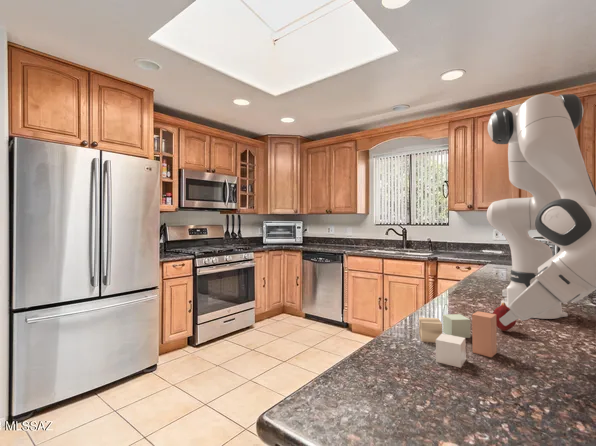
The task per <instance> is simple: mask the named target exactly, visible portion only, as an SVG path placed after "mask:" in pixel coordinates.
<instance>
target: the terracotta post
mask: <svg viewBox="0 0 596 446" xmlns="http://www.w3.org/2000/svg"><path fill="white" fill-rule="evenodd" d="M471 320H472V321H471V325H472V326H471V327H472V328H471V329H472V332H471V333H472V334H471V335H472V340H471V341H472V353H474V354H477V355H481V356H484V357H488V358H493V357H494V356H495V355H496V354H497V353H498V343H497V342H498V340H497V339H498V337H497V335H498V334H497V328H498V327H497V326H496V314H493V313H491V312H486V311H485V312H484V311H479V310H477V311H476V312H474V313H472V315H471Z"/></svg>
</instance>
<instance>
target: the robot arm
mask: <svg viewBox="0 0 596 446" xmlns="http://www.w3.org/2000/svg"><path fill="white" fill-rule="evenodd" d="M584 112H585V111H584V106H583V102H582V101H581V98H580V97H579V96H578V95H577V94H574V93H568V94H559V95H558V96H555V95H554V94H550V93H541V94H536V95H533V96H532V97H529V98H528V99H526V100H524V102H523V103H519V104H516V105H512V106H510V107H507V108H506V107H502V108H499V109H497V110H495V111H493V112H492V114H491V115H490V116H489V120H488V123H487V132H488V136H489V137H490V139H491V141H492V142H493V143H494V144H496V145H508V147H507V166H508V180H509V182H510V184H512V185H513V187H515V188H517V189H519V190H523V191H526V192H528V193H529V194H531V195H532V196H531V197H514V198H505V199H499V200H495V201H492V202H491V203H490V205H488V208H487V211H486V219H487V221H488V222H487V223H489V225H490V226H491V227H492V228H494V229H495V230H496V231H498V232H500V234H502V235H503V237H504V238H505V239H506V241H507V242H508V243H507V244H508V245H509V248H510V254H511V270H510V273H509V276H510V277H509V278H510V282H509V284H508V285H507V287H506V288H504V289H502V290H501V293H502V294H501V295H502V297H504V298H503V299H501V301H500V306H501V304H502V303H505V304H506V306H507V307H508V308H510V311H508V312H507V313H506V314H505V315H504V316H502V317H501V318H500V319H499V320H500V322H501V323H502V324H503V325H504V326H507V325H508V324H510V323H511V322H513V321H515V320H516V321H517V320H521V321H526V320H530V319H543V320H545V319H546V320H548V319H549V320H552V319H559V318H563V317H565V318H567V317H569V315H568V312H567V311H564V310H563V307H562V304H567V303H569V302H570V303H571V302H574V303H577V302H579V301H581V300H582V299H584V298H585V297H587V296H588V295H590V294H591V293H593V292H594V291H596V189H595V186H594V184H593V182H592V179H591V177H590V175H589V172H588V170H587V166H586V164H585V161H584V158H583V155H582V151H581V148H580V145H579V140H578V138H577V134H576V129H577V128H578V127H579V126H580V125H581V123H582V120H583V116H584ZM529 231H537V233H538V234H539V235H540V236H541V237H542V238H543V239H544V240H547V241H548V242H550V243H552V244H553V245H555V246H557V247H558V248H559V251H558V252H557V253H556V254H554V255H553V250H552V248H551V247H550V246H549V245H548V244H546V243H545V242H543V241H540V240H538V239H535V238H534V237H532V236H530V234H529Z"/></svg>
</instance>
